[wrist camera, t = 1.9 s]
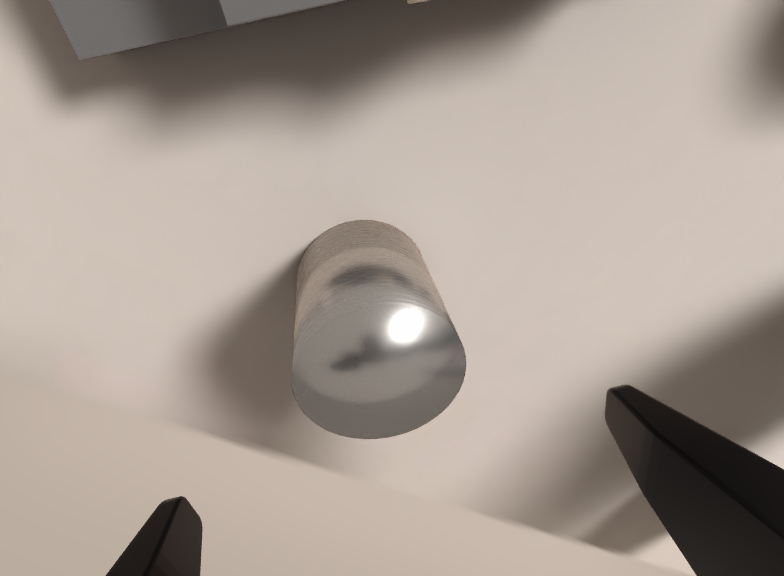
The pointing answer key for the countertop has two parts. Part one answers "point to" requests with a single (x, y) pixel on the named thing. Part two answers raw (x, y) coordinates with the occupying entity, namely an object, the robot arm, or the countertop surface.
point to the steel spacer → (371, 334)
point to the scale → (161, 20)
